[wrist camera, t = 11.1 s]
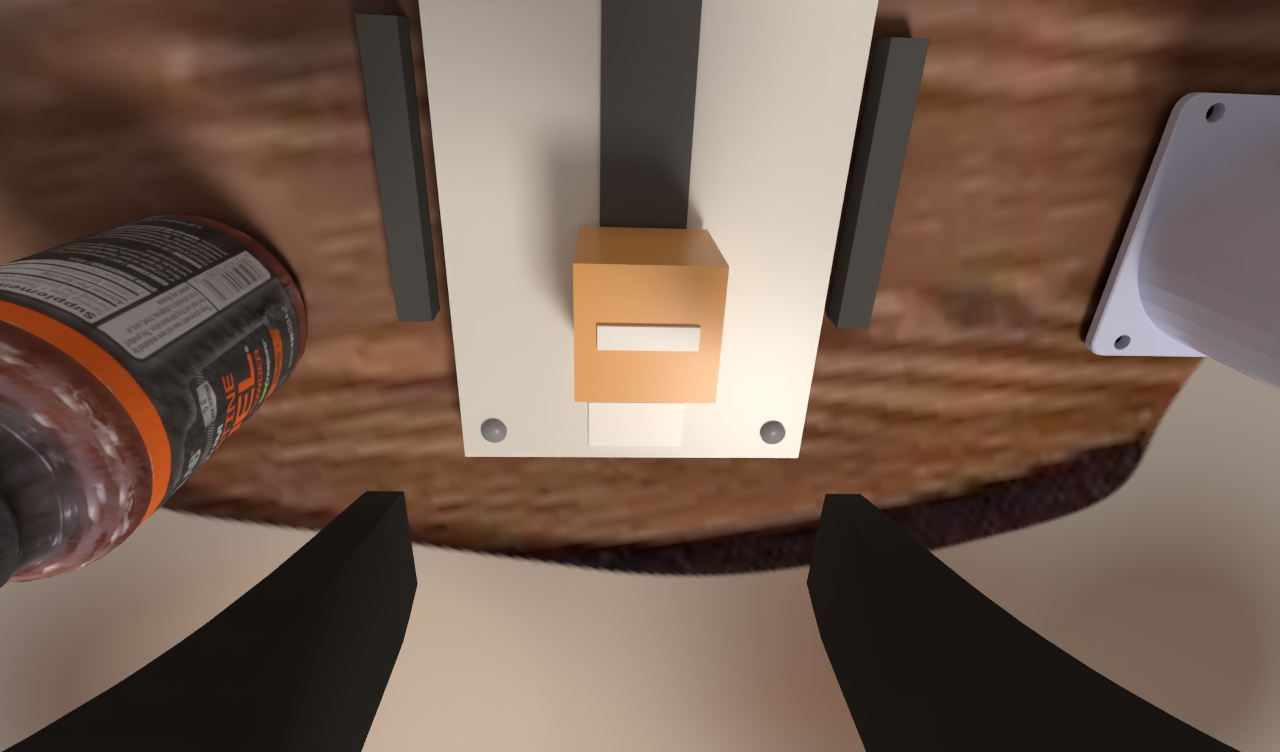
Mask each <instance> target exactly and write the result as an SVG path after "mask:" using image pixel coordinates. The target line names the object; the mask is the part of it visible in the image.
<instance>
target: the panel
mask: <svg viewBox="0 0 1280 752" xmlns="http://www.w3.org/2000/svg"><path fill="white" fill-rule="evenodd" d="M877 5H878V0H419V9H420V19H421V29H422V39H423V48H424V58H425V68H426V78H427V88H428V97H429V107H430V117H431V127H432V136H433V146H434V156H435V166H436V175H437V185H438V195H439V205H440V214H441V224H442V234H443V244H444V253H445V263H446V273H447V283H448V293H449V302H450V312H451V322H452V332H453V341H454V351H455V361H456V371H457V380H458V390H459V400H460V410H461V419H462V429H463V439H464V449H465V457H685V458H798V456H799V450H800V445H801V439H802V433H803V428H804V422H805V416H806V410H807V405H808V399H809V393H810V388H811V382H812V376H813V370H814V365H815V359H816V353H817V348H818V342H819V336H820V330H821V325H822V319H823V313H824V308H825V302H826V296H827V291H828V285H829V279H830V273H831V268H832V262H833V256H834V251H835V245H836V239H837V233H838V228H839V222H840V216H841V211H842V205H843V199H844V193H845V188H846V182H847V176H848V171H849V165H850V159H851V154H852V148H853V142H854V136H855V131H856V125H857V119H858V114H859V108H860V102H861V96H862V91H863V85H864V79H865V74H866V68H867V62H868V56H869V51H870V45H871V39H872V34H873V28H874V22H875V17H876V11H877ZM579 226H589V227H629V228H668V229H707V230H708V231H709V233H710V235H711V236H712V238H713V240H714V242H715V243H716V245H717V247H718V248H719V250H720V252H721V253H722V255H723V257H724V259H725V260H726V262H727V264H728V265H729V275H728V285H727V295H726V305H725V315H724V325H723V335H722V344H721V354H720V364H719V374H718V384H717V394H716V403H639V402H575V400H574V308H573V260H574V254H575V248H576V242H577V236H578V231H579Z"/></svg>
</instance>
